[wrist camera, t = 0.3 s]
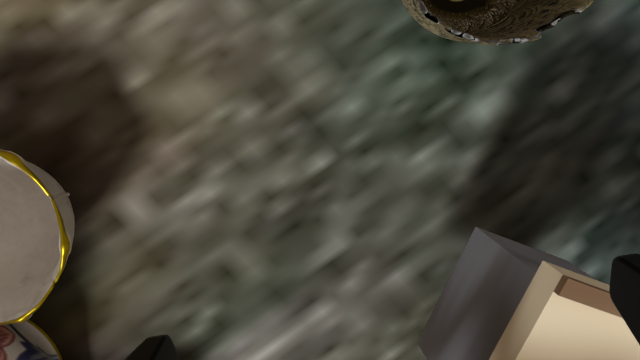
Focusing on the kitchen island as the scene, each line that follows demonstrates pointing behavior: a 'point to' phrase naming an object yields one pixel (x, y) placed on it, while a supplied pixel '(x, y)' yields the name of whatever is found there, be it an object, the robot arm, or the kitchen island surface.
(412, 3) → the cup
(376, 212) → the kitchen island surface
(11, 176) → the chinaware
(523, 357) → the beam
